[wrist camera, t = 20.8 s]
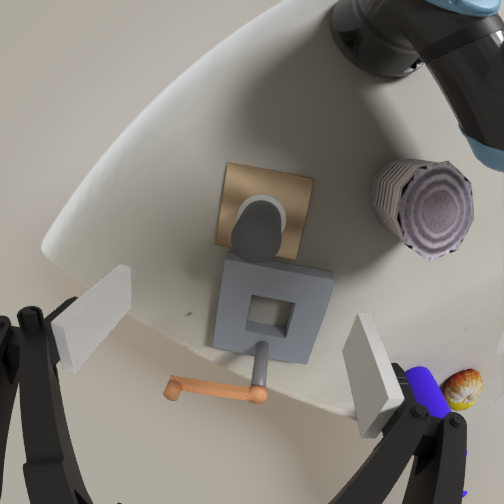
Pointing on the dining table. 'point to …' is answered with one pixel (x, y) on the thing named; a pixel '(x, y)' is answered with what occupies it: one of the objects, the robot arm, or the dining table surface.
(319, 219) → the dining table surface
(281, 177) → the coaster
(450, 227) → the can
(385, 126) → the dining table surface
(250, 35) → the dining table surface
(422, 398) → the bottle
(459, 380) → the fruit
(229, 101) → the dining table surface
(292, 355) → the socket
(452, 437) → the robot arm
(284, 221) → the plug
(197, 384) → the ball-ended peach stick
